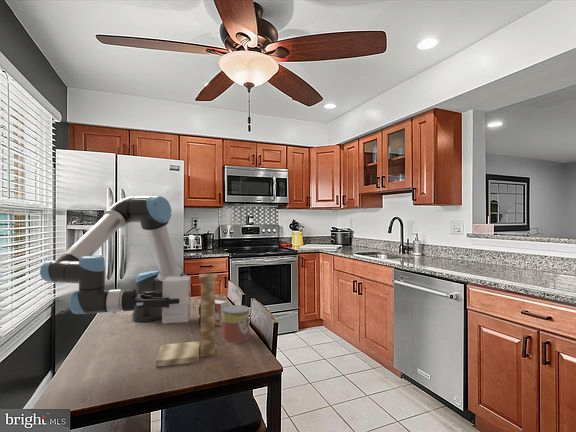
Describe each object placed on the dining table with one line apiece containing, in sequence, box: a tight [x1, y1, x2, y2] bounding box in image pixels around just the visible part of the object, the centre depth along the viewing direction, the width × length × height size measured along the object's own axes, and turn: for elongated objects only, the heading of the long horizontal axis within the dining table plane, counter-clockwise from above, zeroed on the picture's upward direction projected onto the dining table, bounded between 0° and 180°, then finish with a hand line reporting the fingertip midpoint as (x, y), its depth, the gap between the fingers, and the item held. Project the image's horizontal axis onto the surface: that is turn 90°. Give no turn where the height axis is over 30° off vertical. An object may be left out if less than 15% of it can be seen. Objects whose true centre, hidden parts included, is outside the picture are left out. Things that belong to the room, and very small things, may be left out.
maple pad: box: [155, 340, 200, 368], centre depth 116 cm, size 14×14×2 cm
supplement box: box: [161, 275, 192, 324], centre depth 115 cm, size 9×9×15 cm
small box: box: [215, 299, 228, 327], centre depth 151 cm, size 8×6×10 cm
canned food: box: [221, 304, 250, 343], centre depth 134 cm, size 11×11×12 cm
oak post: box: [198, 272, 218, 357], centre depth 118 cm, size 6×6×29 cm
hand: (190, 296), depth 116 cm, fingers closed on supplement box, 9 cm apart
